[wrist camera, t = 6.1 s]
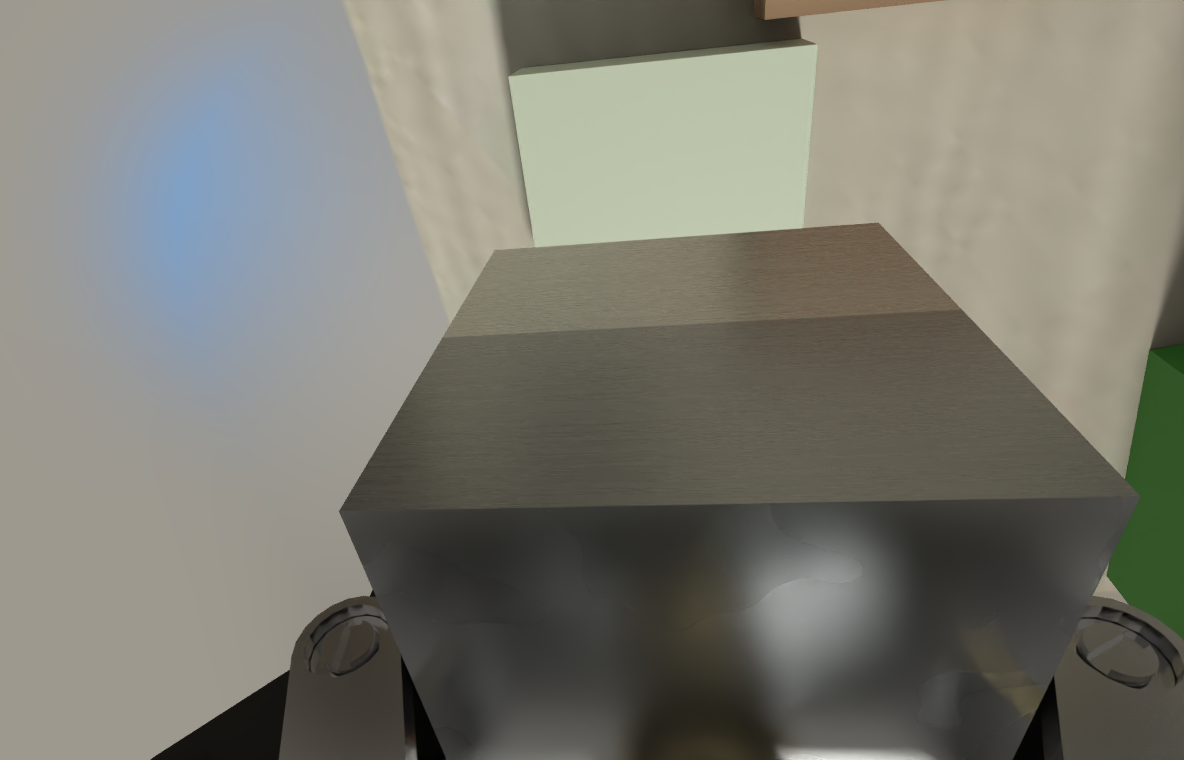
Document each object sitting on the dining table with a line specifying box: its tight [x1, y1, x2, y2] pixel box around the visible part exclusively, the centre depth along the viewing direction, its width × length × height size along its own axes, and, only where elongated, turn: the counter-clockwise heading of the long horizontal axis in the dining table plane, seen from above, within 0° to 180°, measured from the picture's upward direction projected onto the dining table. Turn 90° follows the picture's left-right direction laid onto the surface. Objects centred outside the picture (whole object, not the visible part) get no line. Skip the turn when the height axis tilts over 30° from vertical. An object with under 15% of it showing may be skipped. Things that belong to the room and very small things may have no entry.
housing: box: [339, 223, 1141, 760], centre depth 9 cm, size 8×6×7 cm
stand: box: [508, 39, 818, 247], centre depth 28 cm, size 10×12×3 cm
